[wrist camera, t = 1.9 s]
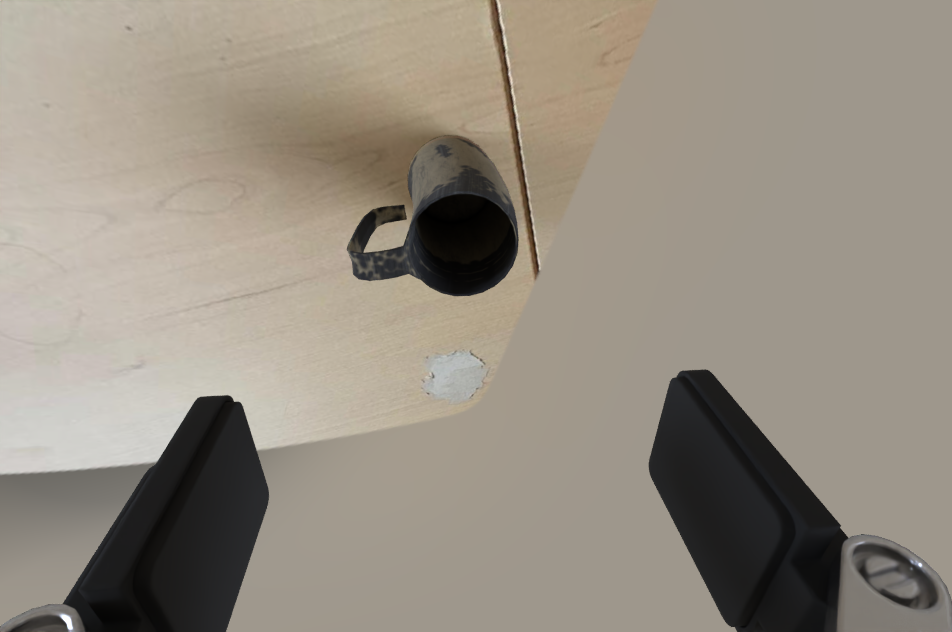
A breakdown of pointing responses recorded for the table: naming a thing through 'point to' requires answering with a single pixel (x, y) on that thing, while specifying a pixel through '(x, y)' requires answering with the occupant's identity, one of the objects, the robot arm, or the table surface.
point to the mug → (446, 223)
